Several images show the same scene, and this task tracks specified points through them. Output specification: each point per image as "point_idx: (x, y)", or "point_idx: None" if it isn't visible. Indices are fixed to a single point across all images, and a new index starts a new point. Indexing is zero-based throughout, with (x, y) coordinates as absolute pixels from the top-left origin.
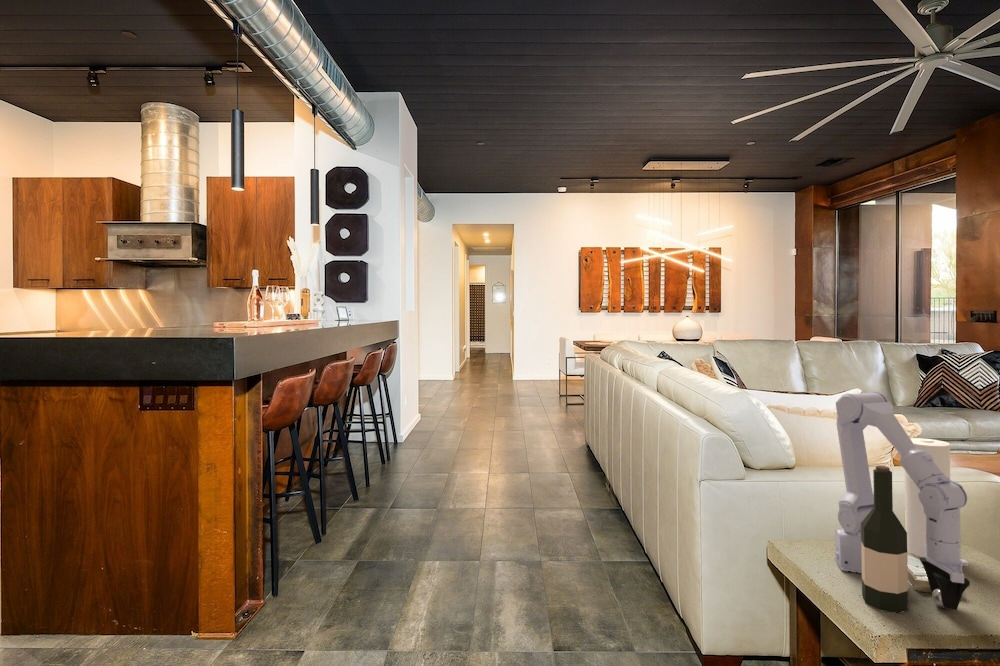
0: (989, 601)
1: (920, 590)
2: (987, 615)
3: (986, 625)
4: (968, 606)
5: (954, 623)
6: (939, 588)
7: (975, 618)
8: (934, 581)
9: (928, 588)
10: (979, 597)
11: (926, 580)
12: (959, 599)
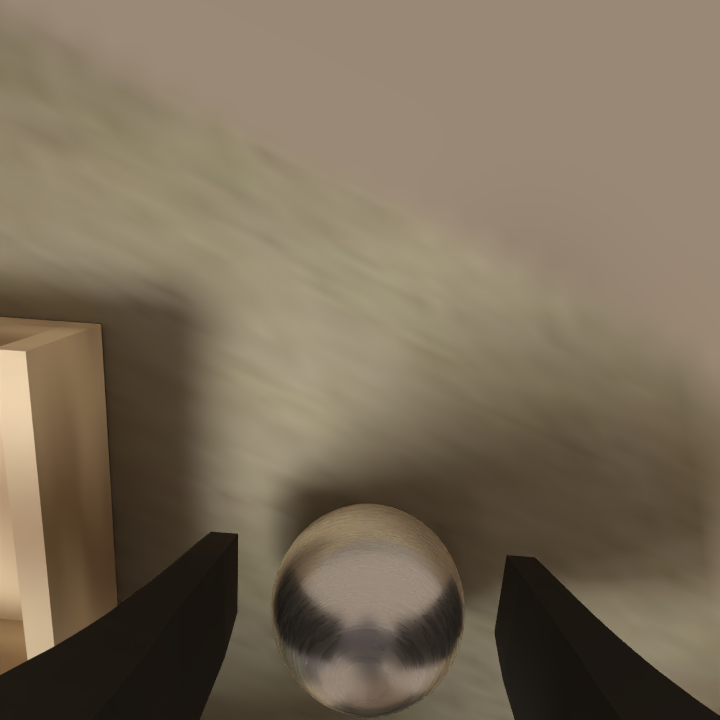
0: (106, 80)
1: (111, 605)
2: (435, 257)
3: (632, 360)
4: (290, 341)
5: (634, 582)
6: (350, 706)
7: (517, 389)
8: (190, 702)
9: (95, 573)
10: (43, 140)
11: (41, 636)
12: (605, 631)
